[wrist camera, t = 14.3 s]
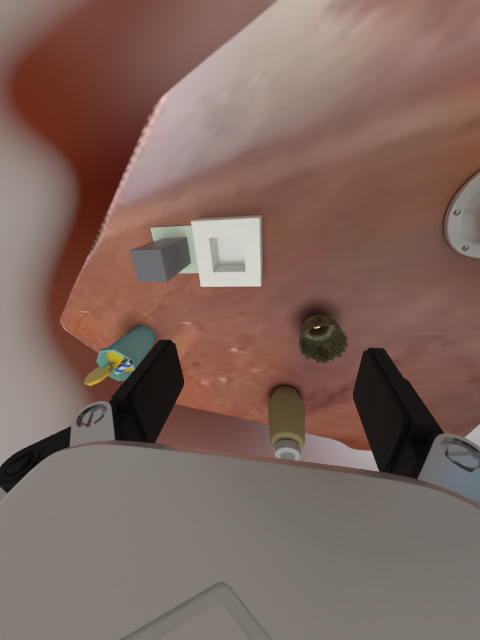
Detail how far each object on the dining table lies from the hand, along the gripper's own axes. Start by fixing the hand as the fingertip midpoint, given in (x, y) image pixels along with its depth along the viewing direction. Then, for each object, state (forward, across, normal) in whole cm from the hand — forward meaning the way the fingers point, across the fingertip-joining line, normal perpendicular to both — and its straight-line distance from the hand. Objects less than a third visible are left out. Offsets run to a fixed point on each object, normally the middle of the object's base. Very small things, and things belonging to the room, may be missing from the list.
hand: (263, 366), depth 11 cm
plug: (+29, +17, 0) cm, 34 cm away
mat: (+30, +17, 0) cm, 35 cm away
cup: (+30, +28, +18) cm, 45 cm away
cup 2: (+30, -8, +14) cm, 34 cm away
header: (+30, +7, 0) cm, 31 cm away
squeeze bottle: (+30, -3, +34) cm, 46 cm away
